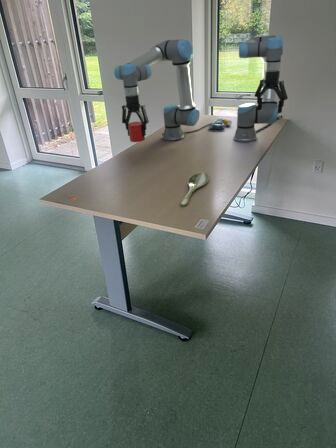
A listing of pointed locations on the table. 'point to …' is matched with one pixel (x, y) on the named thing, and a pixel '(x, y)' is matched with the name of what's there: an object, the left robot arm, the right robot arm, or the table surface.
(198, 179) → the spoon
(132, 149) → the table surface
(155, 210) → the table surface
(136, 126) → the canister
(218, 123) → the spray gun
